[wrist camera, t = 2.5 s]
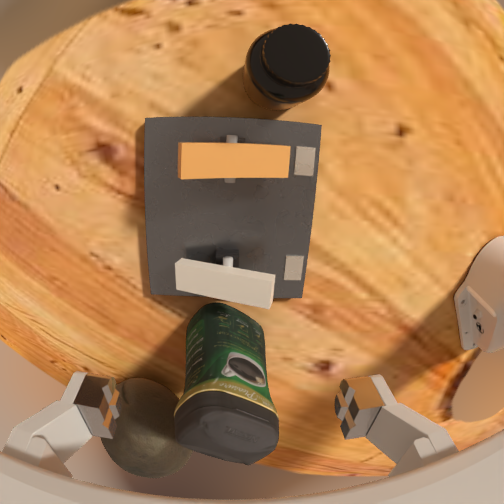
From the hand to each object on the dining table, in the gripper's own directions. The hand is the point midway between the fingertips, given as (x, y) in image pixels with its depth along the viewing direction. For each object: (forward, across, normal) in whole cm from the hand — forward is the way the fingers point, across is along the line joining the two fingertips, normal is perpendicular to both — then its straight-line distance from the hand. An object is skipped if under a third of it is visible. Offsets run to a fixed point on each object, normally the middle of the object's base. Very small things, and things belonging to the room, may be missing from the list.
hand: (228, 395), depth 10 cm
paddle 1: (+21, 0, -6) cm, 22 cm away
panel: (+26, 0, 0) cm, 26 cm away
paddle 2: (+21, 0, +6) cm, 22 cm away
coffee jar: (+26, 0, +16) cm, 30 cm away
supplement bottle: (+26, -4, -14) cm, 30 cm away
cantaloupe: (+26, +11, +29) cm, 40 cm away
